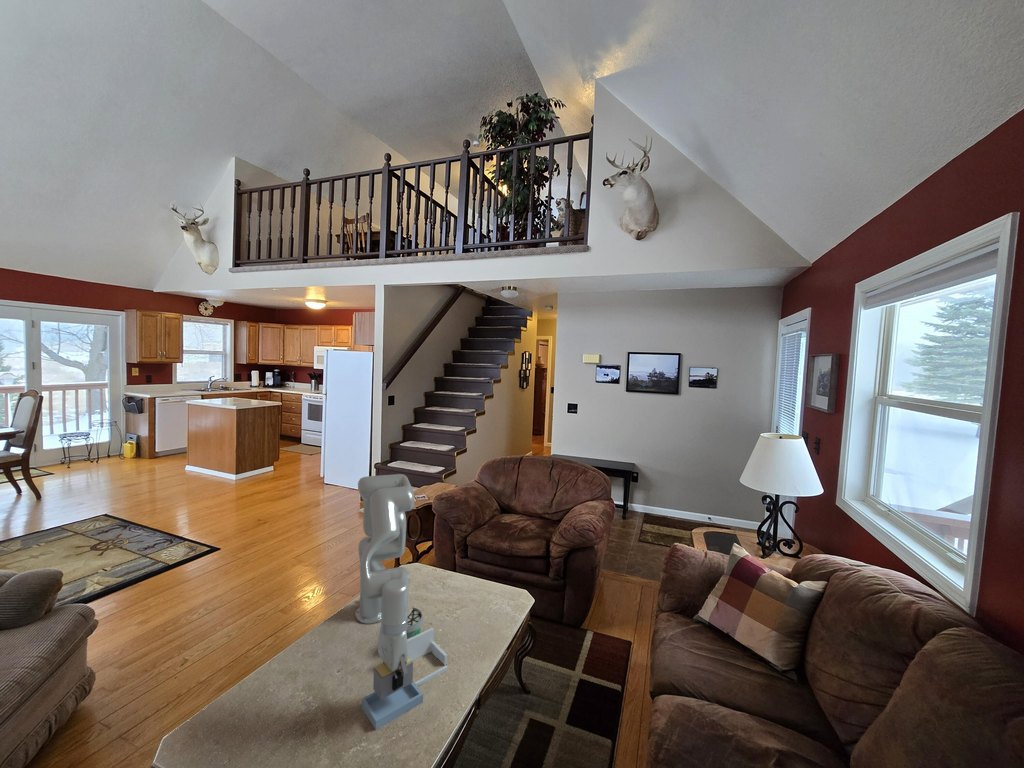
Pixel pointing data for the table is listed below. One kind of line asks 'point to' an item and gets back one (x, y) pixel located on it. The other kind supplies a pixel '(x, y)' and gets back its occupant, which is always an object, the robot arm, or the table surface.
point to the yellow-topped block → (389, 679)
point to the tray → (391, 705)
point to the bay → (422, 646)
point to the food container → (414, 623)
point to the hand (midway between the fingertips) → (393, 681)
